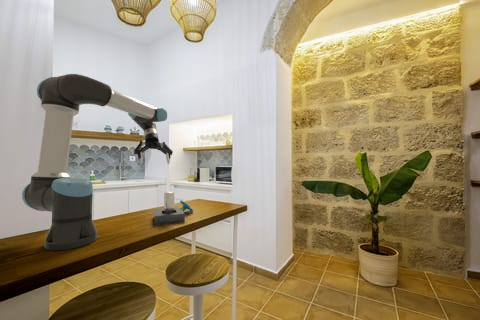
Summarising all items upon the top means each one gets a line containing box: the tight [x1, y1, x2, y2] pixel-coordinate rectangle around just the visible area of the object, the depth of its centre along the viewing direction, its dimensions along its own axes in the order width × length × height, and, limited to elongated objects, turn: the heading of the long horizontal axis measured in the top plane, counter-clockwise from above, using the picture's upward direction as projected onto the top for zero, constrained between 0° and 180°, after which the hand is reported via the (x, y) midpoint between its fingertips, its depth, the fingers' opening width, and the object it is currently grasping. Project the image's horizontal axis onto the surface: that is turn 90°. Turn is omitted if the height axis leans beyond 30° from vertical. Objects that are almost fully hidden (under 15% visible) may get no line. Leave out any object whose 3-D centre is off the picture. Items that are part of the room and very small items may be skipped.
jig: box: [154, 207, 186, 225], centre depth 107 cm, size 14×14×4 cm
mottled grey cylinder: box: [163, 191, 175, 214], centre depth 107 cm, size 5×5×14 cm
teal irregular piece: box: [179, 200, 194, 213], centre depth 121 cm, size 11×6×10 cm
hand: (155, 162), depth 111 cm, fingers open, 13 cm apart
